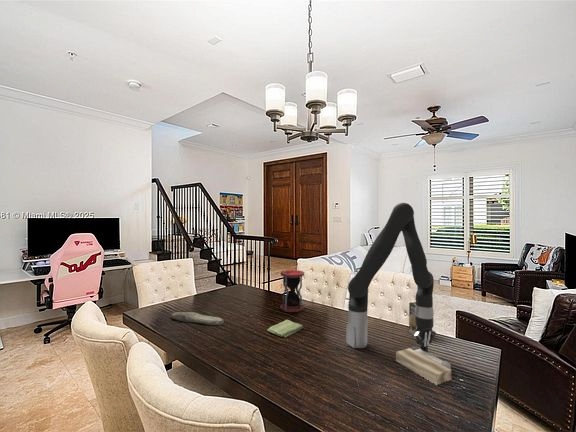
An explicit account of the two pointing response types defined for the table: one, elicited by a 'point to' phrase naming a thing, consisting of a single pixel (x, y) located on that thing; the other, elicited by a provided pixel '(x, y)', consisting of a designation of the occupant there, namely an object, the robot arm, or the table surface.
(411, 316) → the coffee box
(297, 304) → the hourglass
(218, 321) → the elongated rock
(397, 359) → the rail
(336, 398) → the table surface
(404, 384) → the table surface
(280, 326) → the washcloth
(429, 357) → the folding leg
